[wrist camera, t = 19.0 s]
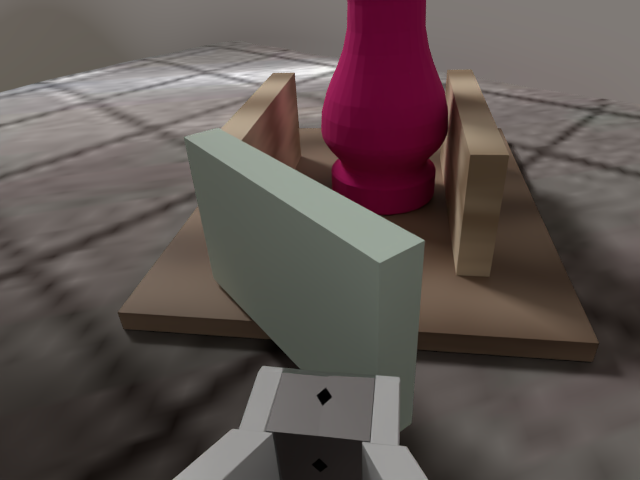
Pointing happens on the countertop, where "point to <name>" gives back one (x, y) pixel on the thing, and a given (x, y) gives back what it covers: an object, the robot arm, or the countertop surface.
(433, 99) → the pepper mill
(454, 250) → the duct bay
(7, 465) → the countertop surface
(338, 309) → the gate
